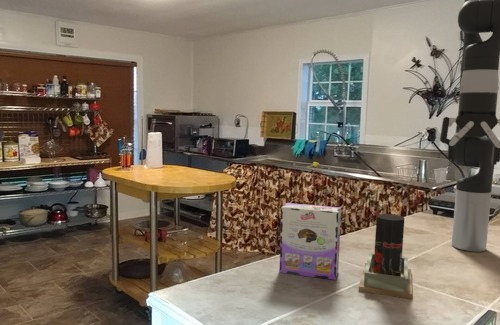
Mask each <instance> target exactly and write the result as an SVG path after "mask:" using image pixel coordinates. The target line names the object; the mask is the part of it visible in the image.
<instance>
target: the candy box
mask: <svg viewBox="0 0 500 325" xmlns="http://www.w3.org/2000/svg"><path fill="white" fill-rule="evenodd" d="M341 209H342V208H341V207H339V206H337V207H336V206H327V205H326V206H325V205H314V204H304V203H291V202H287V203H284V205H282V206H281V208H280V239H279V240H280V242H279V244H280V245H279V270H278V271H279V273H283V274H289V275H297V276H298V275H299V276H304V277H305V276H306V277H311V278H312V277H313V278H320V279H327V280H336V279H337V277H338V274H339V268H340V267H339V265H340V264H339V262H340V245H341V242H340V240H341V218H342V217H341V216H342V214H341V213H342V212H341V211H342V210H341Z"/></svg>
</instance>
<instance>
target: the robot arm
mask: <svg viewBox="0 0 500 325" xmlns="http://www.w3.org/2000/svg"><path fill="white" fill-rule="evenodd" d="M463 2H464V3H463V5H462V6H461V7H460V9H459V12H458V13H457V14H458V15H457V24H458V27H459V29H460V31H462V33H463V45H462V56H461V65H460V66H461V67H460V76H459V91H458V92H459V93H458V94H459V95H458V112H457V116H456V117H449V116H444V117H443V118H442V123H441V129H440V138H439V141H440V142H441V143H442V144H445V145H447V156H446V158H447V159H448V160H449V162H450V163H454V164H455V165H456V166H461V167H468V168H477V169H479V170H478V172H477V173H476V174H474V175H472V176H467V177H462V178H458V179H457V181H456V183H455V197H454V198H455V201H454V209H453V210H454V212H453V224H452V232H451V233H452V235H451V246H452V247H454V248H455V249H459V250H463V251H467V252H473V253H474V252H479V253H480V252H485V251H486V250H487V243H488V234H489V223H490V210H491V199H492V189H493V188H492V186H493V182H494V180H493V179H494V171H495V166H496V165H497V163H499V162H500V140H499V138H498V137H497V135H496V134H495V133H494V131H493V129H494V128H495V127H496V126H497V125H498V124H499V126H500V118H497V105H498V93H499V90H500V89H499V88H500V87H499V85H500V84H499V80H500V79H499V70H500V0H464V1H463ZM485 33H492V34H491V36H490V37H489V38H487V39H486V40H484V41H483V39H482V37H481V35H480V34H485ZM454 123H455V124H456V128H455V133H454V134H453V136H452V137H451V138H450V139H449V138H448V132H449V128H450V127H452V126H453V124H454Z"/></svg>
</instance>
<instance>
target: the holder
mask: <svg viewBox="0 0 500 325" xmlns="http://www.w3.org/2000/svg"><path fill="white" fill-rule="evenodd" d="M374 253H375V252H374ZM374 253H373V252H369V254H368V258H367V262H365V263H364V266H363V269H362V272H361V273H362V274H361V277H360V281H359V285H358V291H359V292H364V293H371V294H379V295H384V296H389V297H397V298H403V299H408V300H412V299H413V291H412V290H413V284H412V283H413V282H412V280H413V279H412V269H411V268H409V264H408V263H409V261H408V259H409V258H408V257H406V256H405V257H404V256H402V264H401V277H400V276H392V275H385V274H378V273H373V270H374Z"/></svg>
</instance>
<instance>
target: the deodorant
mask: <svg viewBox="0 0 500 325" xmlns="http://www.w3.org/2000/svg"><path fill="white" fill-rule="evenodd" d="M375 222H376V224H375V238H374V239H375V240H374V270H373V273H378V274H385V275H392V276H400V277H401V264H402V257H403V248H404V247H403V246H404V230H405V229H404V228H405V217H404V216H403V215H398V214H392V213H391V214H390V213H379V214H377V215H376V221H375Z"/></svg>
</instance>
